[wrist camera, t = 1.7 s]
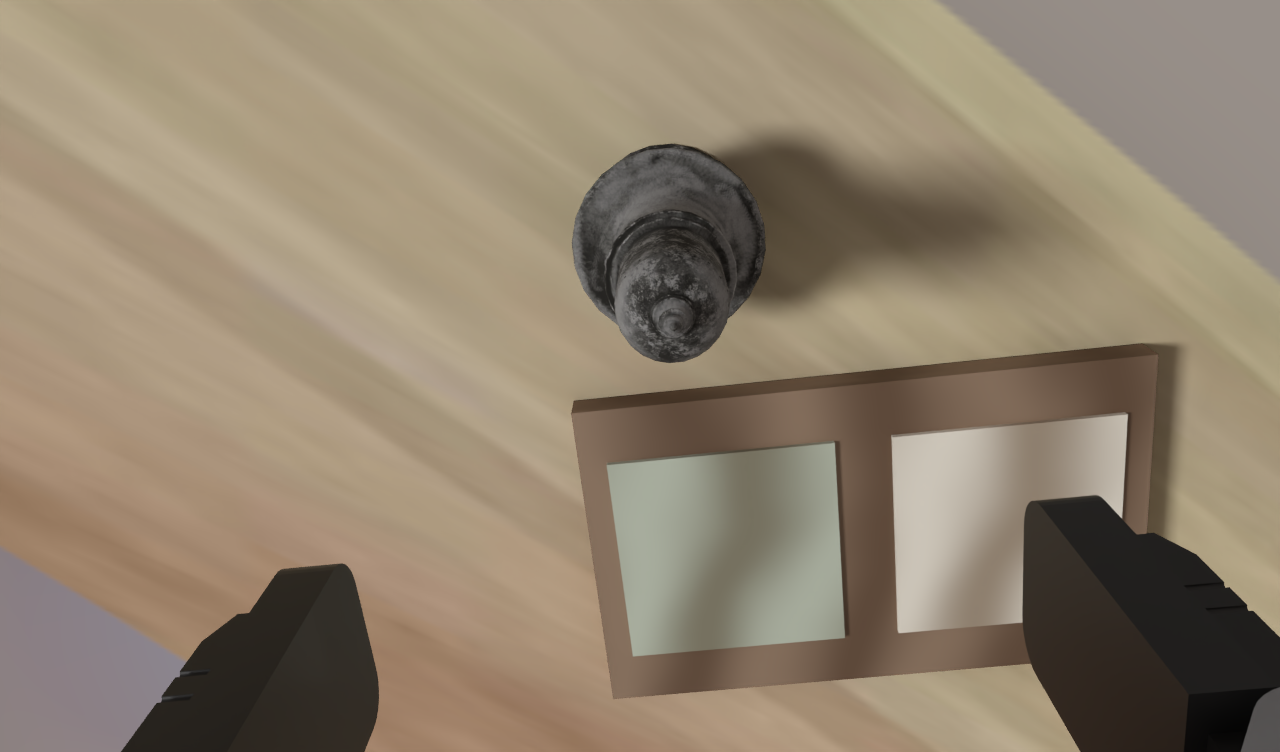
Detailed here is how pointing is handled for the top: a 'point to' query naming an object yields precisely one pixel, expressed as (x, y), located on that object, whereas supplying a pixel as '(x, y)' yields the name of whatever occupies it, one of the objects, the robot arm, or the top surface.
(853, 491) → the board
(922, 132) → the top surface
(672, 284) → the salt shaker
